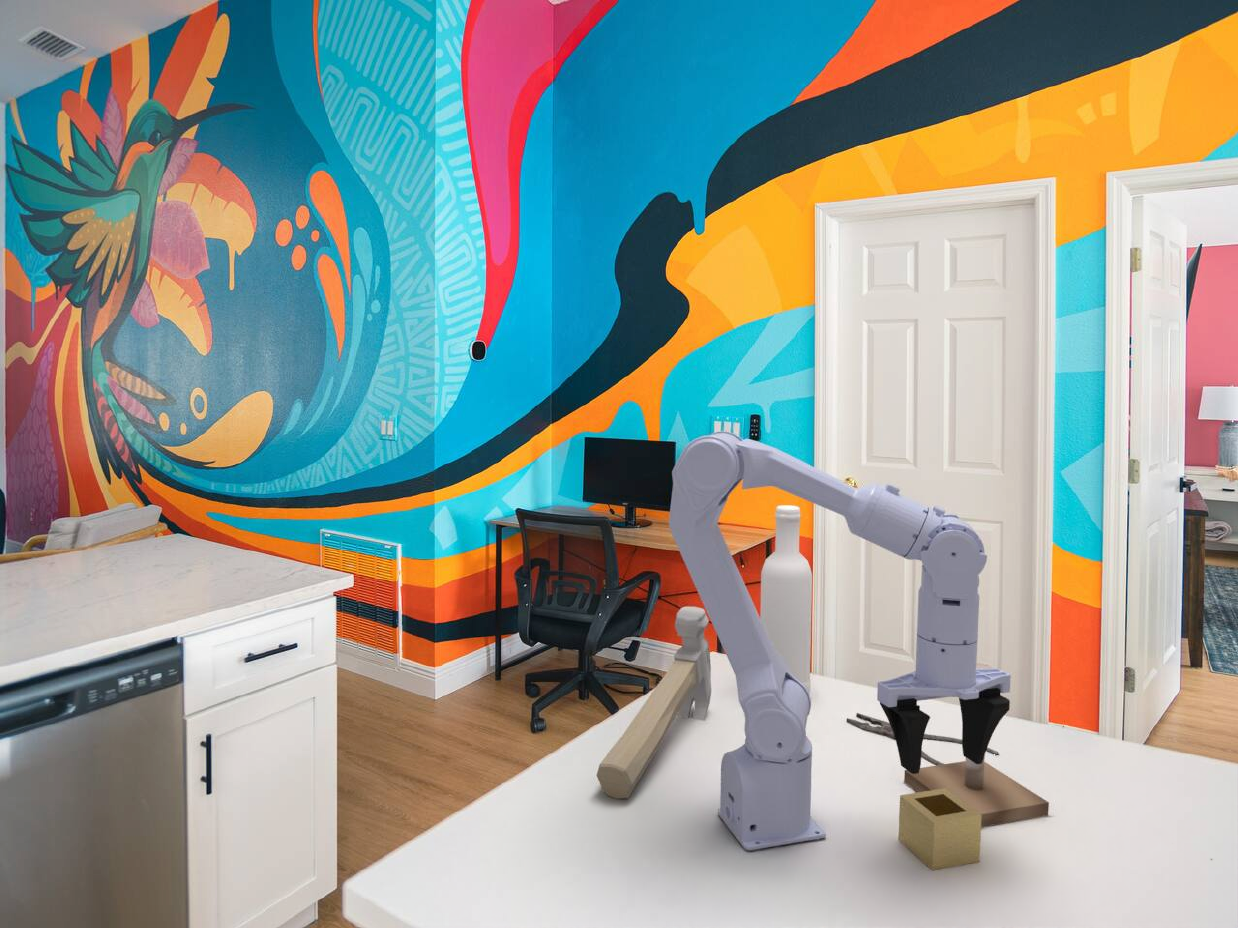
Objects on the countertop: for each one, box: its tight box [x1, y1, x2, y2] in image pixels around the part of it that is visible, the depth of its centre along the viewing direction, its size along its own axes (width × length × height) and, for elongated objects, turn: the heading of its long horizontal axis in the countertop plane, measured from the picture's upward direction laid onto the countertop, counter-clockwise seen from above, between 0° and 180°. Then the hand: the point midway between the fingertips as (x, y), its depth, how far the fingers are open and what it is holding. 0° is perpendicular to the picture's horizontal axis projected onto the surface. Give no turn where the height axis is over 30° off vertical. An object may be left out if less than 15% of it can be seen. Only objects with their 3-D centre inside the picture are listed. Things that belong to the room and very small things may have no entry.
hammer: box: [596, 606, 712, 800], centre depth 106 cm, size 16×5×30 cm
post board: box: [903, 755, 1050, 828], centre depth 94 cm, size 11×11×6 cm
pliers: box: [846, 712, 1000, 766], centre depth 108 cm, size 10×1×20 cm
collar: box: [898, 788, 982, 871], centre depth 83 cm, size 6×6×5 cm
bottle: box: [759, 504, 813, 695], centre depth 123 cm, size 8×8×30 cm
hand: (941, 764), depth 82 cm, fingers open, 7 cm apart
